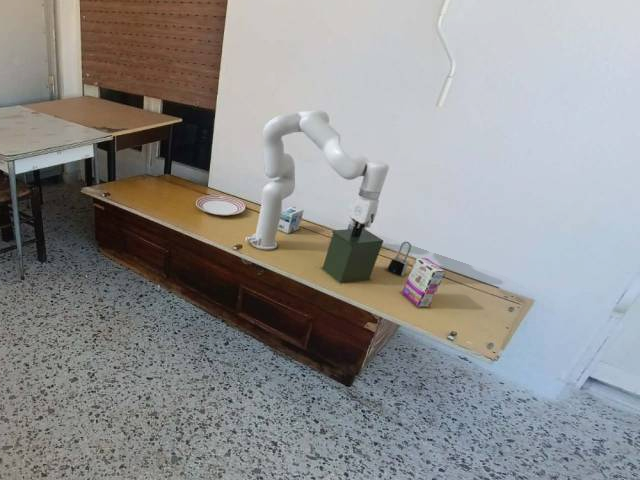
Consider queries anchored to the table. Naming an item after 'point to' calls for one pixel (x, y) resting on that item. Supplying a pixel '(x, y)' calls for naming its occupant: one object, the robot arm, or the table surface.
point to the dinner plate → (220, 205)
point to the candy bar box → (423, 282)
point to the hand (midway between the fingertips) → (355, 235)
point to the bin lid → (362, 239)
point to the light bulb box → (290, 219)
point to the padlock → (399, 263)
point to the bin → (350, 260)
